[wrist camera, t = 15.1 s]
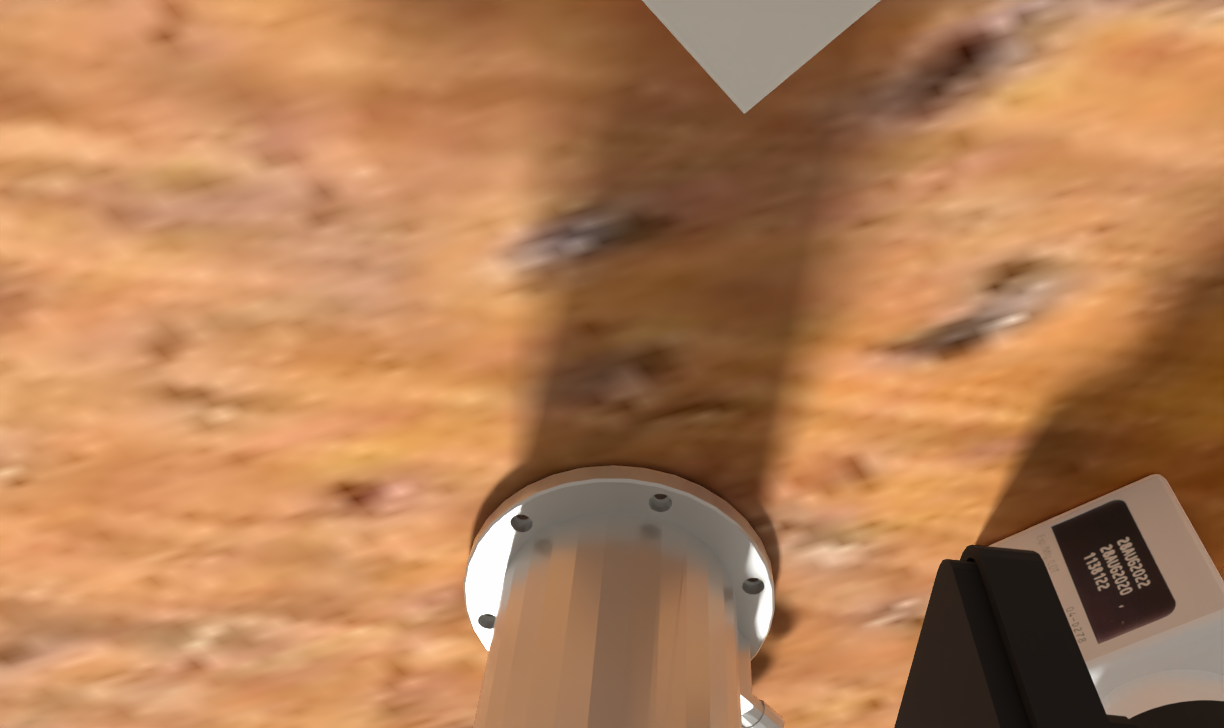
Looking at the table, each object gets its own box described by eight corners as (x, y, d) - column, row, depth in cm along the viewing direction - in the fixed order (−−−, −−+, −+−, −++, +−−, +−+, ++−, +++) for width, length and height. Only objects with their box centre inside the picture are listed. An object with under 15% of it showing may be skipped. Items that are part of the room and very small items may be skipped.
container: (967, 549, 46) (1053, 834, 35) (1158, 465, 44) (1316, 745, 33) (1049, 669, 49) (1151, 965, 38) (1232, 597, 47) (1399, 893, 36)
